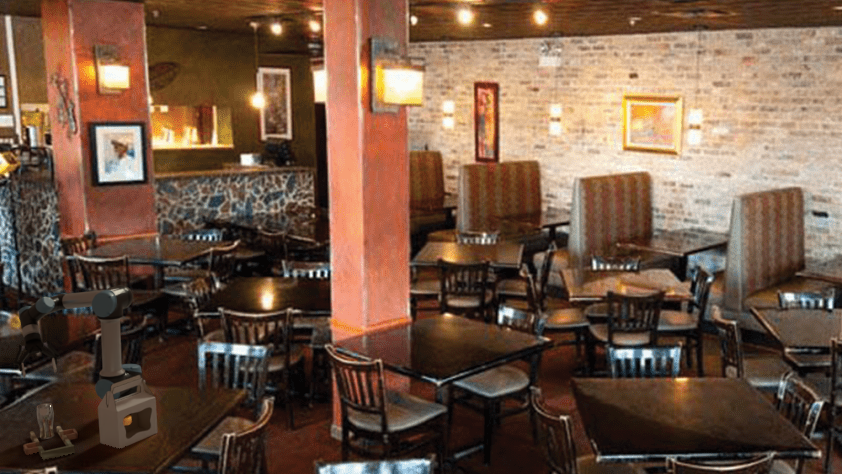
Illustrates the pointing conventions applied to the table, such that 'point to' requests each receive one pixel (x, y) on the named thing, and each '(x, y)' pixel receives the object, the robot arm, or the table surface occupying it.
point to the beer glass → (45, 420)
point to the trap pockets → (70, 433)
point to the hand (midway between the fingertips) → (40, 373)
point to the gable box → (134, 404)
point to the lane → (58, 451)
